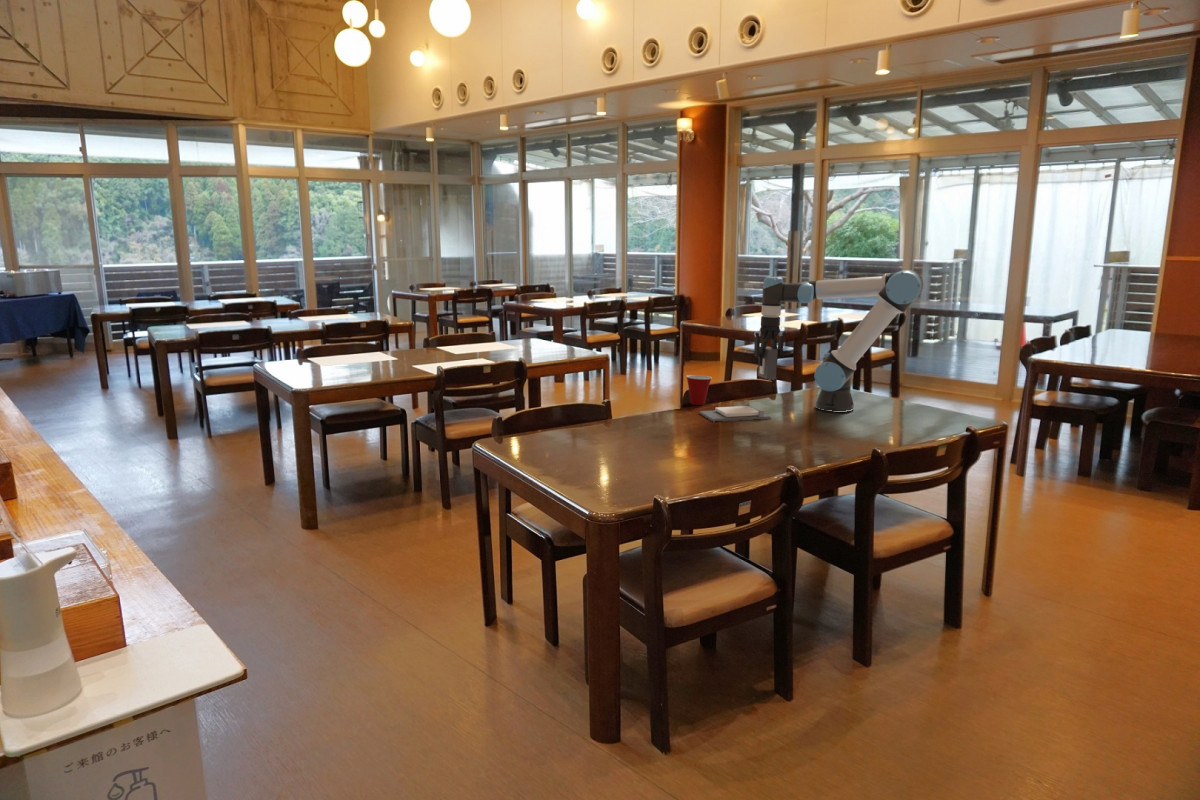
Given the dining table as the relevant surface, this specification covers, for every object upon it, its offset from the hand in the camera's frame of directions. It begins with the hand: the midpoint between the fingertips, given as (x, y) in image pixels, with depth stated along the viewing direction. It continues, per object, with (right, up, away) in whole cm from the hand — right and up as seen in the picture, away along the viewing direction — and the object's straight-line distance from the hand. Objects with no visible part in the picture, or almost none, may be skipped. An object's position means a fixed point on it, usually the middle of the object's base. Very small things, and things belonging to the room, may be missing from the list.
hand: (767, 373), depth 318 cm
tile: (-7, -15, -9) cm, 19 cm away
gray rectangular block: (0, -2, 0) cm, 2 cm away
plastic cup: (-27, -13, +10) cm, 31 cm away
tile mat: (-15, -17, -11) cm, 25 cm away
